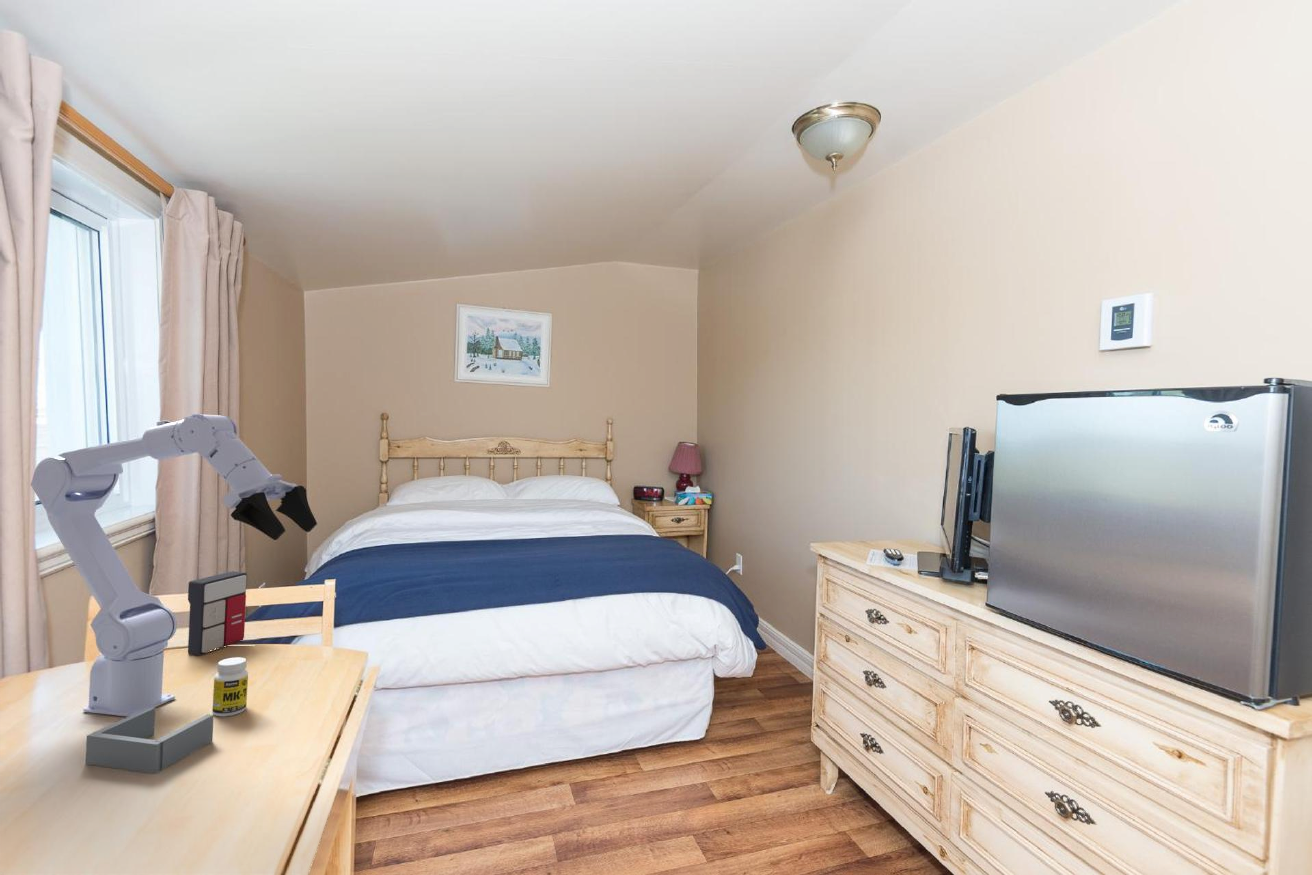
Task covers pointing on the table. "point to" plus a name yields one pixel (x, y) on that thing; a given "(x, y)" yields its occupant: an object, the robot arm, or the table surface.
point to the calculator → (216, 611)
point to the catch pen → (145, 743)
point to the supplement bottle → (230, 687)
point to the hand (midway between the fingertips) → (296, 531)
